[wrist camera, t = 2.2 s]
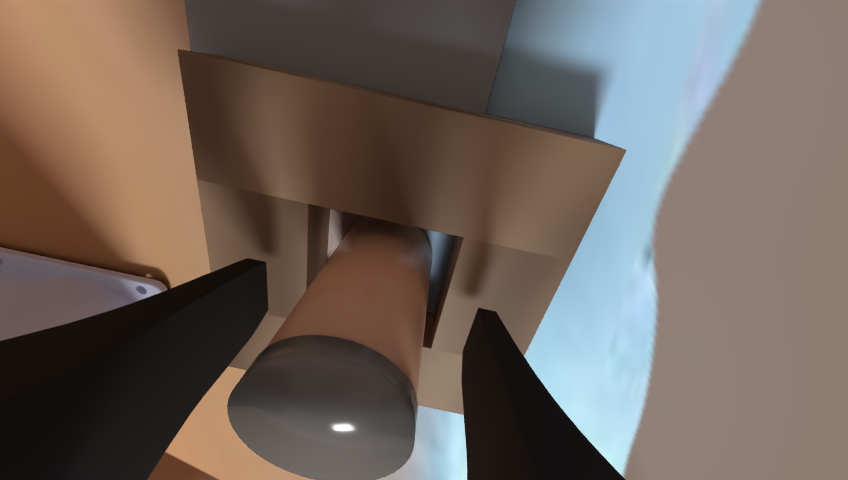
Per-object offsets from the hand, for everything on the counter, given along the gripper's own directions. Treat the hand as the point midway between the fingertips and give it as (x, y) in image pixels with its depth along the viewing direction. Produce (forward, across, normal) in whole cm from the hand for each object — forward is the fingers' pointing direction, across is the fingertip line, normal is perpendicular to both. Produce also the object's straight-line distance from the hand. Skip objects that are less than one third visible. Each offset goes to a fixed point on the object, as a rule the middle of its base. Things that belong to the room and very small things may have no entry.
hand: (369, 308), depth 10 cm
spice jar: (+4, 0, 0) cm, 4 cm away
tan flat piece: (+4, 0, 0) cm, 4 cm away
